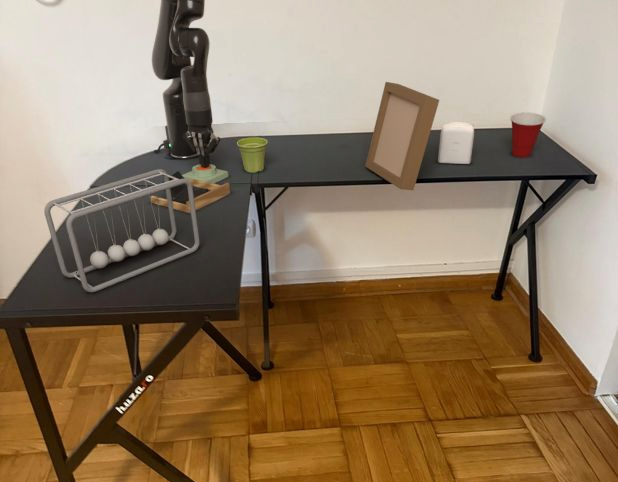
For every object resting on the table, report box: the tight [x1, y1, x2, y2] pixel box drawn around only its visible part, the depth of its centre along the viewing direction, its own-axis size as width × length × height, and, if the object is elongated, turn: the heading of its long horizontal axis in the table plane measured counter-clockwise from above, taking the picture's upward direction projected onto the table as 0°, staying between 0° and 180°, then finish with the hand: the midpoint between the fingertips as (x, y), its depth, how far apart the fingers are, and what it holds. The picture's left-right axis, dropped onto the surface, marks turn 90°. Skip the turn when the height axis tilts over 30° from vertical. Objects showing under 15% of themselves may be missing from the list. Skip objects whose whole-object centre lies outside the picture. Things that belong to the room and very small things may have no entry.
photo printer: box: [437, 121, 475, 165], centre depth 187 cm, size 10×4×12 cm, turn 78°
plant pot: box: [236, 136, 268, 174], centre depth 186 cm, size 9×9×9 cm
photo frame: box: [364, 81, 440, 191], centre depth 174 cm, size 15×22×25 cm
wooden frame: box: [150, 179, 231, 214], centre depth 169 cm, size 14×17×3 cm
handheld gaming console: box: [161, 170, 209, 204], centre depth 169 cm, size 12×7×10 cm
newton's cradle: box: [44, 168, 201, 294], centre depth 132 cm, size 30×10×18 cm, turn 135°
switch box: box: [181, 163, 229, 184], centre depth 181 cm, size 10×10×4 cm
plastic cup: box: [509, 111, 547, 158], centre depth 192 cm, size 11×11×12 cm
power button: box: [197, 166, 211, 170], centre depth 181 cm, size 4×4×2 cm
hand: (205, 167), depth 180 cm, fingers closed
